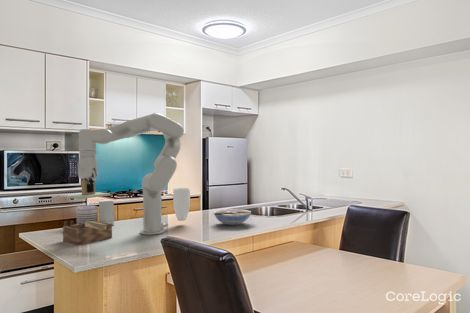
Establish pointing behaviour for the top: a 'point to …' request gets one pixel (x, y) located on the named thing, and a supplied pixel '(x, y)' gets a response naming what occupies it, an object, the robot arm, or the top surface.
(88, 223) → the wooden bar
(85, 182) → the lid
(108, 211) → the skincare box
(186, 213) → the cup
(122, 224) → the top surface
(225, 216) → the ramen bowl
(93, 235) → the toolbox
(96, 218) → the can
